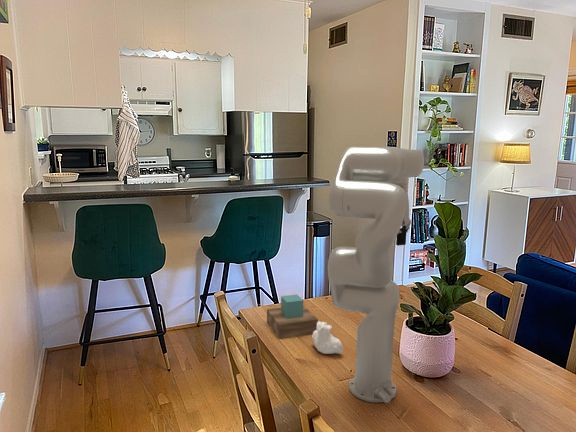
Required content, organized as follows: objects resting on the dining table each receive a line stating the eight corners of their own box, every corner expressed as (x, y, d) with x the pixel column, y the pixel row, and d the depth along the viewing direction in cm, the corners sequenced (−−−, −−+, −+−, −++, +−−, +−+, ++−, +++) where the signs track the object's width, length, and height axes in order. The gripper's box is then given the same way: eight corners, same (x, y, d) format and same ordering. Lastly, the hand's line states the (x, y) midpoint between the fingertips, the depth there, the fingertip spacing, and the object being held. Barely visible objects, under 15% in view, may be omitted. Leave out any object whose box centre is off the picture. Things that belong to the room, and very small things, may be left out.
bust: (311, 351, 150) (296, 332, 144) (324, 332, 153) (310, 313, 147) (339, 365, 142) (325, 345, 135) (352, 345, 145) (338, 324, 138)
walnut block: (317, 332, 158) (317, 319, 158) (279, 338, 154) (279, 324, 153) (302, 317, 171) (302, 304, 170) (266, 322, 167) (266, 309, 166)
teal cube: (303, 316, 160) (303, 300, 159) (286, 318, 158) (287, 302, 157) (296, 310, 165) (296, 294, 164) (281, 312, 163) (281, 296, 162)
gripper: (422, 191, 137) (418, 247, 140) (389, 184, 153) (387, 234, 156) (400, 192, 134) (397, 249, 138) (370, 185, 150) (367, 236, 153)
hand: (392, 241), depth 147 cm, fingers open, 9 cm apart
